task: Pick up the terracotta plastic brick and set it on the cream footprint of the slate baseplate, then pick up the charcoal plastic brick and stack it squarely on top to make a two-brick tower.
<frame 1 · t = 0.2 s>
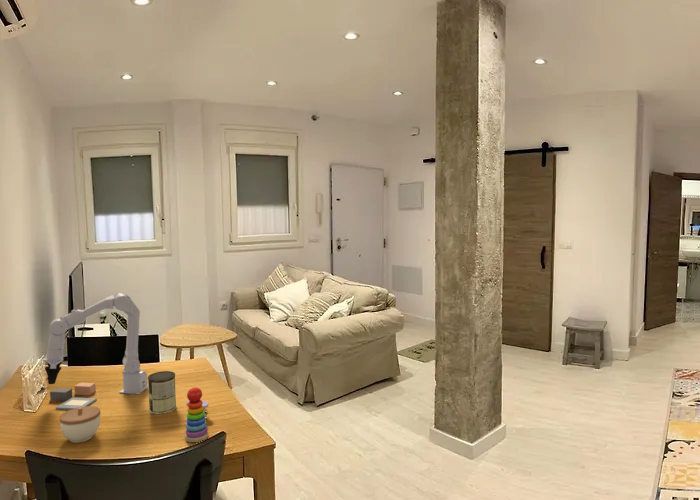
hand: (52, 380, 195), 10 cm above the table, tool pointing down, fingers open, 7 cm apart
stacking toy: (196, 438, 168), on the table
slate baseplate: (76, 404, 196), on the table
terracotta brick: (85, 393, 208), on the table
charcoal brick: (61, 399, 202), on the table
game die: (37, 388, 214), on the table
coffee can: (162, 409, 192), on the table
toy table: (197, 416, 186), on the table
lidded bowl: (81, 438, 168), on the table
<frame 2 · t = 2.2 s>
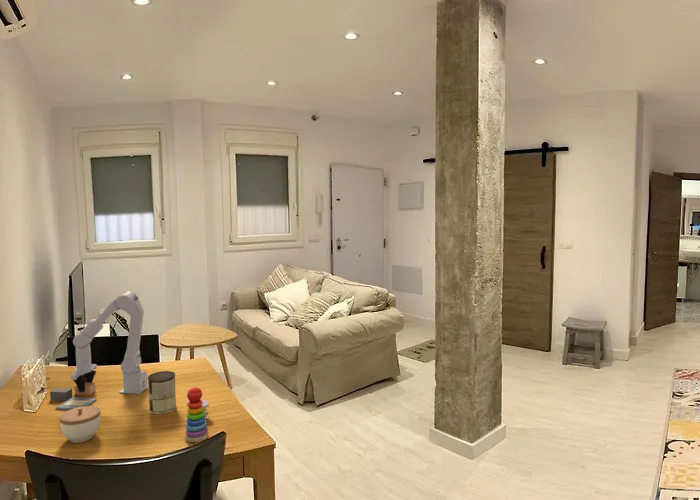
hand: (85, 389, 208), 1 cm above the table, tool pointing down, fingers closed on terracotta brick, 4 cm apart
terracotta brick: (85, 392, 208), on the table, touching gripper
everything else where it was.
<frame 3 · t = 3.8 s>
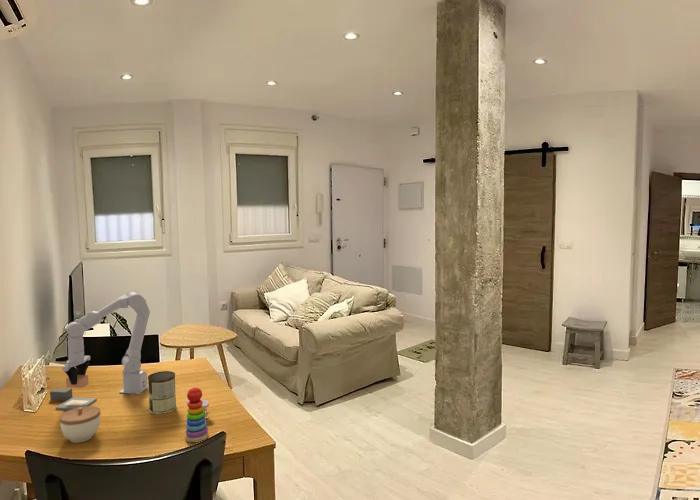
hand: (77, 382, 198), 8 cm above the table, tool pointing down, fingers closed on terracotta brick, 4 cm apart
terracotta brick: (77, 385, 198), point 7 cm above the table, touching gripper
everything else where it was.
when the fingers open (3 cm above the table, at t = 5.7 s): terracotta brick stays where it is, resting on slate baseplate.
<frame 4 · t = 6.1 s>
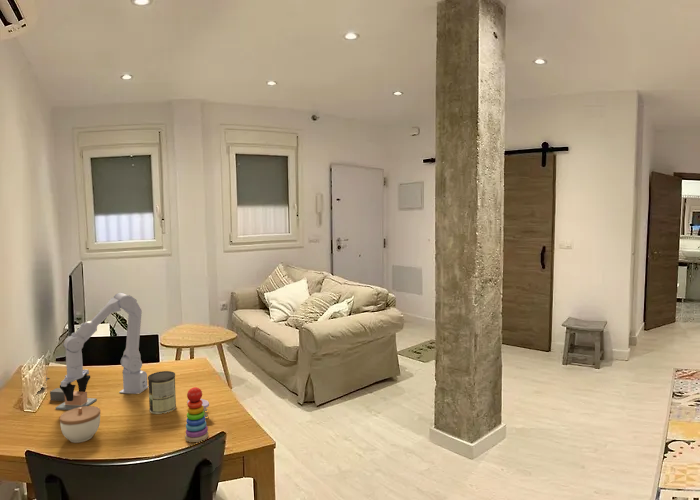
hand: (76, 397, 196), 3 cm above the table, tool pointing down, fingers open, 7 cm apart
terracotta brick: (76, 402, 196), point 1 cm above the table, touching slate baseplate
everything else where it was.
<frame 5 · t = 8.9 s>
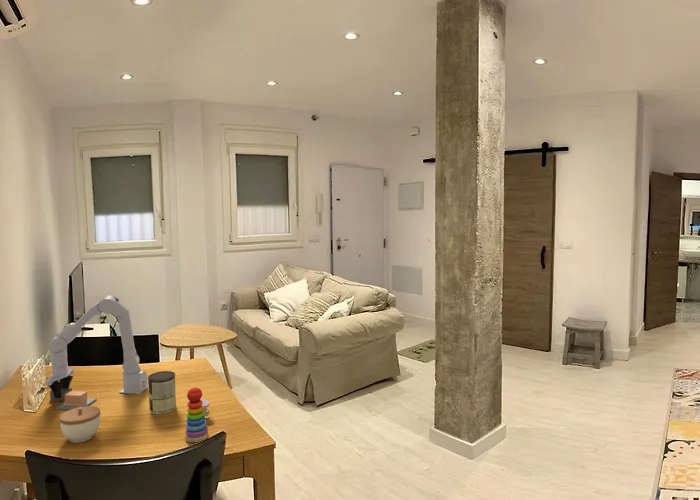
hand: (61, 395, 202), 1 cm above the table, tool pointing down, fingers closed on charcoal brick, 4 cm apart
charcoal brick: (61, 398, 202), on the table, touching gripper
everything else where it was.
when the fingers open (7 cm above the table, at t = 11.4 s): charcoal brick stays where it is, resting on terracotta brick.
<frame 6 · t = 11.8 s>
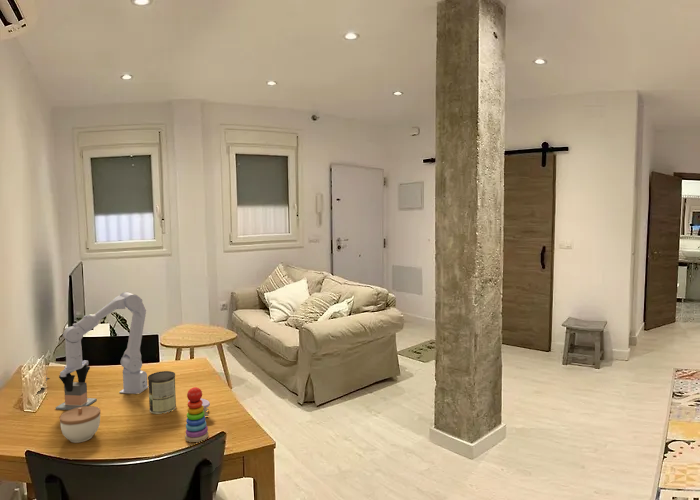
hand: (75, 387, 195), 7 cm above the table, tool pointing down, fingers open, 7 cm apart
terracotta brick: (76, 402, 196), point 1 cm above the table, touching charcoal brick, slate baseplate
charcoal brick: (75, 393, 195), point 5 cm above the table, touching terracotta brick
everything else where it was.
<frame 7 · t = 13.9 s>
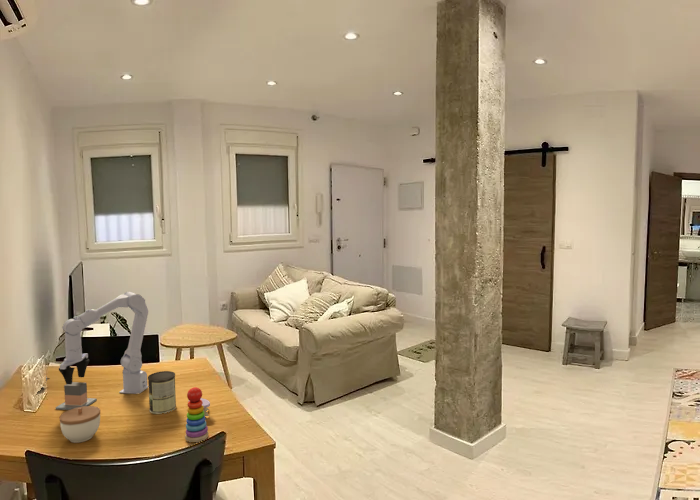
hand: (75, 380, 195), 10 cm above the table, tool pointing down, fingers open, 7 cm apart
nothing on the table moved.
at the end: terracotta brick 0.1 cm off-centre on the slate baseplate, point 0.9 cm above the slate baseplate's base; charcoal brick 0.1 cm off-centre on the terracotta brick, point 4.0 cm above the terracotta brick's base; charcoal brick tilted 0° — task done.
